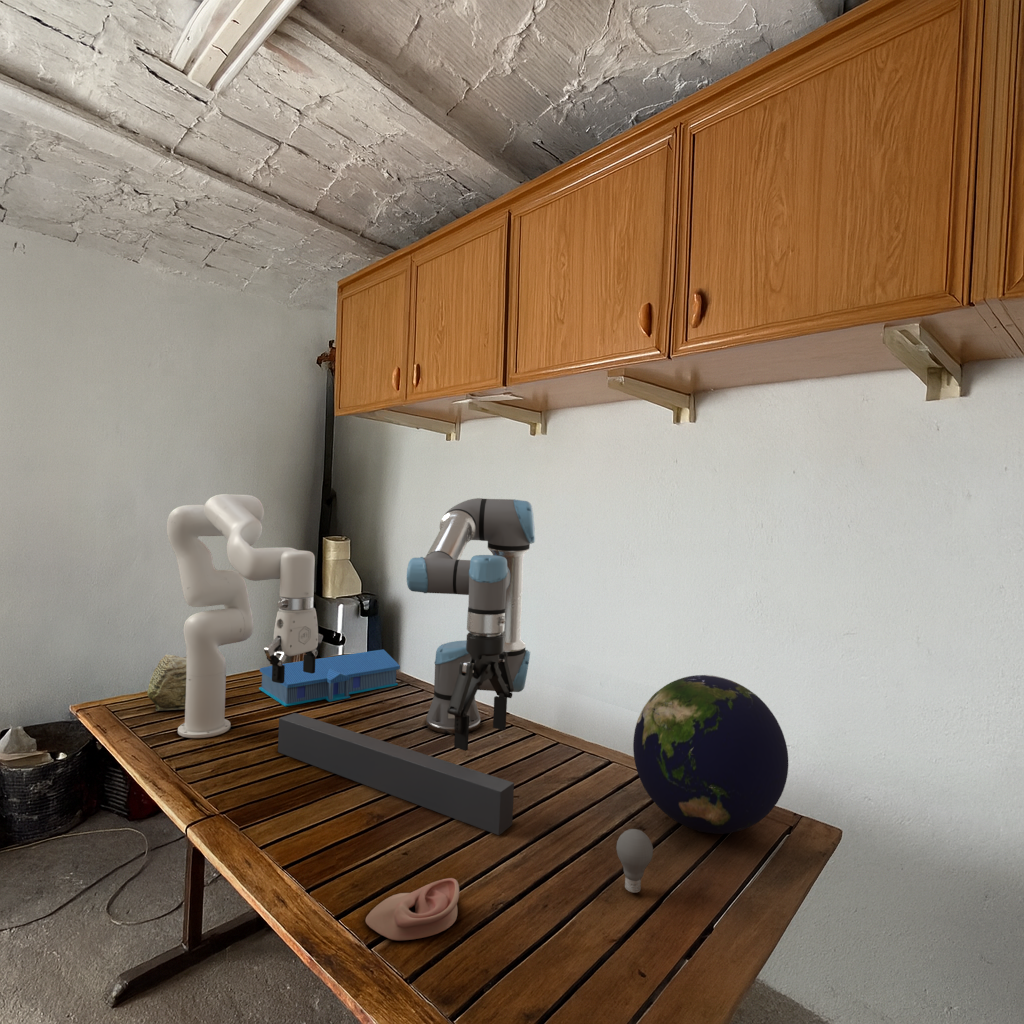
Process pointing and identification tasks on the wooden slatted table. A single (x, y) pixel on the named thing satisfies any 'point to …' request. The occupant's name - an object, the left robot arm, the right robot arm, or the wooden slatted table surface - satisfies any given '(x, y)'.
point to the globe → (710, 754)
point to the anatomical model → (417, 911)
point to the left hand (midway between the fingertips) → (293, 677)
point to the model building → (332, 678)
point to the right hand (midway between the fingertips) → (480, 738)
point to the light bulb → (634, 857)
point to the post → (400, 772)
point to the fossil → (169, 683)
